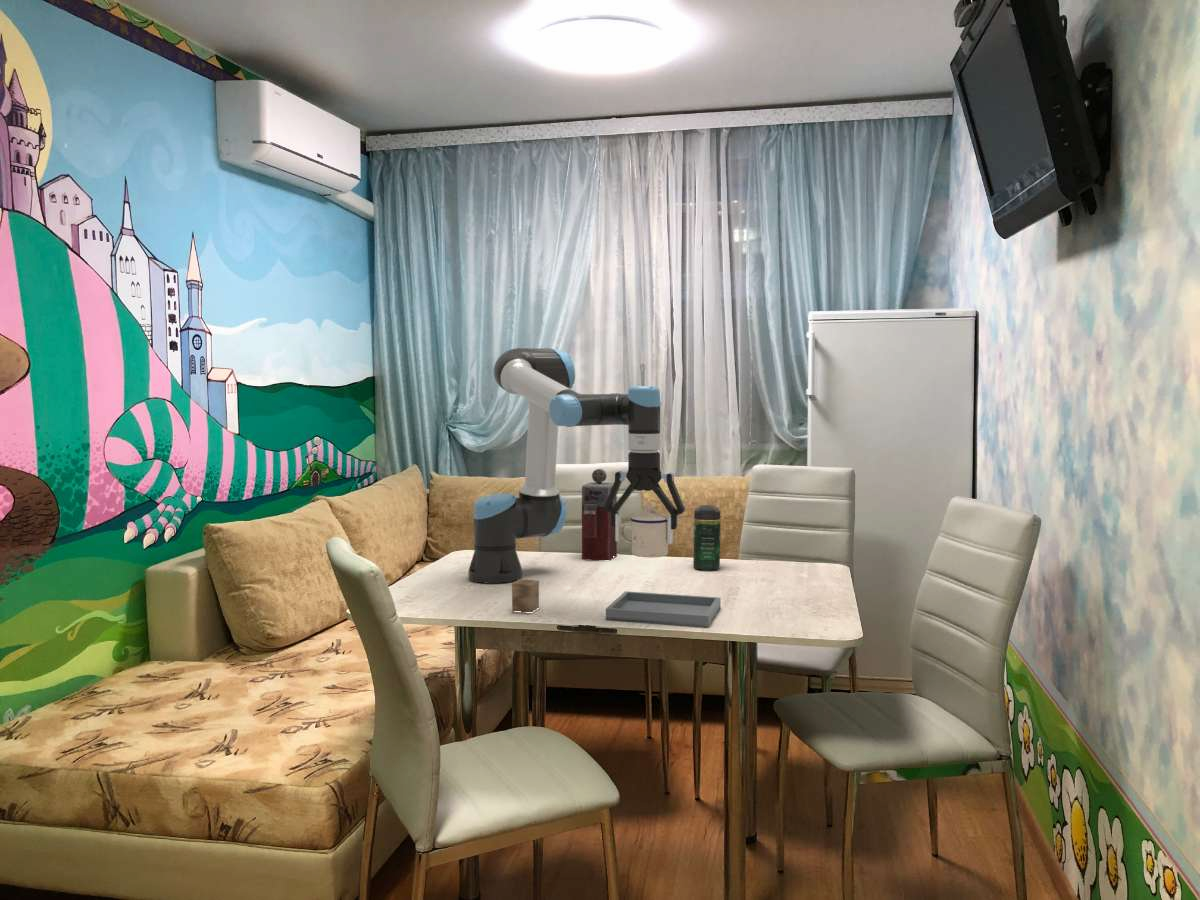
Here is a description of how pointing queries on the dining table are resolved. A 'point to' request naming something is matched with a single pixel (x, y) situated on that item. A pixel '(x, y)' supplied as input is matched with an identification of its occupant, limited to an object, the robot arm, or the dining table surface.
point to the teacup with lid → (648, 533)
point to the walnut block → (525, 595)
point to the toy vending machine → (597, 519)
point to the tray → (664, 609)
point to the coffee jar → (706, 538)
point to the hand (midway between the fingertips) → (644, 541)
